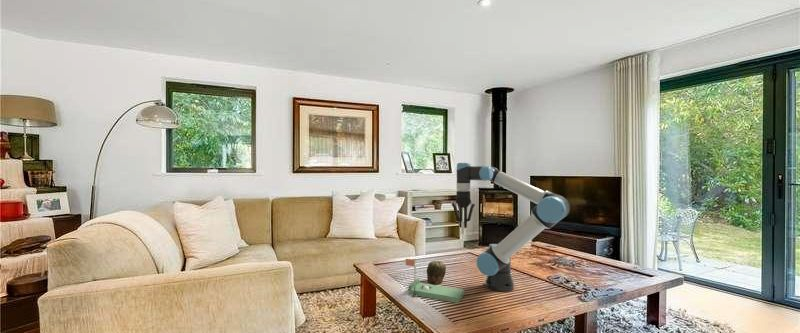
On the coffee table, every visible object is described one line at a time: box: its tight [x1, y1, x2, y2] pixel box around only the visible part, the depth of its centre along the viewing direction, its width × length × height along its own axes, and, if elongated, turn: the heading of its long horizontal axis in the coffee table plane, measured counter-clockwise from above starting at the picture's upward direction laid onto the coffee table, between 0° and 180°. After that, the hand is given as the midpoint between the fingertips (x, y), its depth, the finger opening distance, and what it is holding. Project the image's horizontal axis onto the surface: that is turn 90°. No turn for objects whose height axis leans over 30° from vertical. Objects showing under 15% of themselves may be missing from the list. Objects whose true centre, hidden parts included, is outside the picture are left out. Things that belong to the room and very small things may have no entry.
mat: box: [408, 278, 465, 303], centre depth 171 cm, size 26×12×4 cm, turn 65°
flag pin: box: [405, 258, 418, 298], centre depth 169 cm, size 6×2×19 cm, turn 65°
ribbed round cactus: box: [426, 260, 447, 285], centre depth 190 cm, size 11×11×12 cm
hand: (463, 233), depth 182 cm, fingers closed
